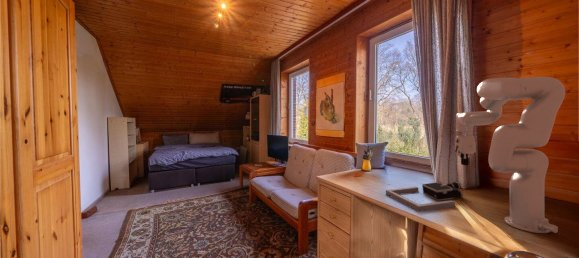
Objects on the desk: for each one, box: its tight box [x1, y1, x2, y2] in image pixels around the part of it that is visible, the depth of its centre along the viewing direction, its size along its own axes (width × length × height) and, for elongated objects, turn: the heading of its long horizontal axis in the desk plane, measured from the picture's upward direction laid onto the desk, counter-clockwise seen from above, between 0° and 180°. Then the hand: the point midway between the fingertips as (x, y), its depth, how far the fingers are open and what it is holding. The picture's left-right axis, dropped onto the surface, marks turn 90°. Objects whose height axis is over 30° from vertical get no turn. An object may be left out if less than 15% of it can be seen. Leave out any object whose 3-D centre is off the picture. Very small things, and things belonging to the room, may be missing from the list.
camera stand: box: [385, 186, 456, 212], centre depth 119 cm, size 26×21×2 cm
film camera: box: [421, 181, 464, 202], centre depth 123 cm, size 8×16×15 cm
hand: (464, 164), depth 124 cm, fingers closed
